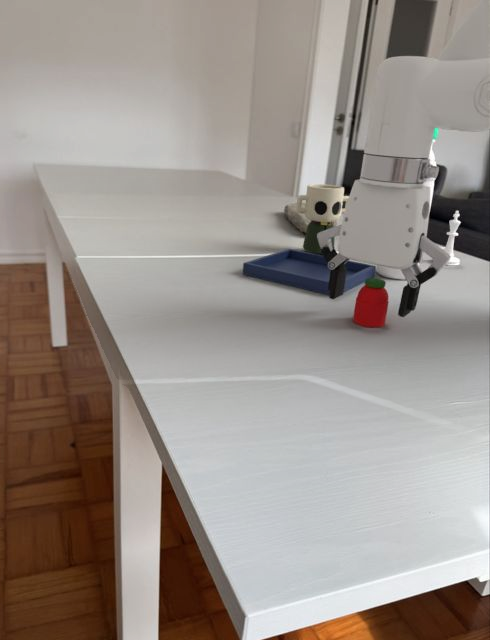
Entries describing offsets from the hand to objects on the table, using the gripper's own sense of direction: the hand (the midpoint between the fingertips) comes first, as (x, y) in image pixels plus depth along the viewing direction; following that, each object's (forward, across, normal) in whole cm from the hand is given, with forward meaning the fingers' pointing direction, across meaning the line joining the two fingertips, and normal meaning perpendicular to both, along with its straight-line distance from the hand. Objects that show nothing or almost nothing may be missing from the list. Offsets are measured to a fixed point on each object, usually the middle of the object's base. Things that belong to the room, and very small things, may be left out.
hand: (369, 305), depth 73 cm
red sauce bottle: (+2, 0, 0) cm, 2 cm away
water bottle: (+2, +6, -27) cm, 28 cm away
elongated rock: (+2, +40, -58) cm, 71 cm away
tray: (+2, +17, -15) cm, 23 cm away
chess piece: (+2, +2, -44) cm, 44 cm away
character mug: (+3, +24, -32) cm, 40 cm away
